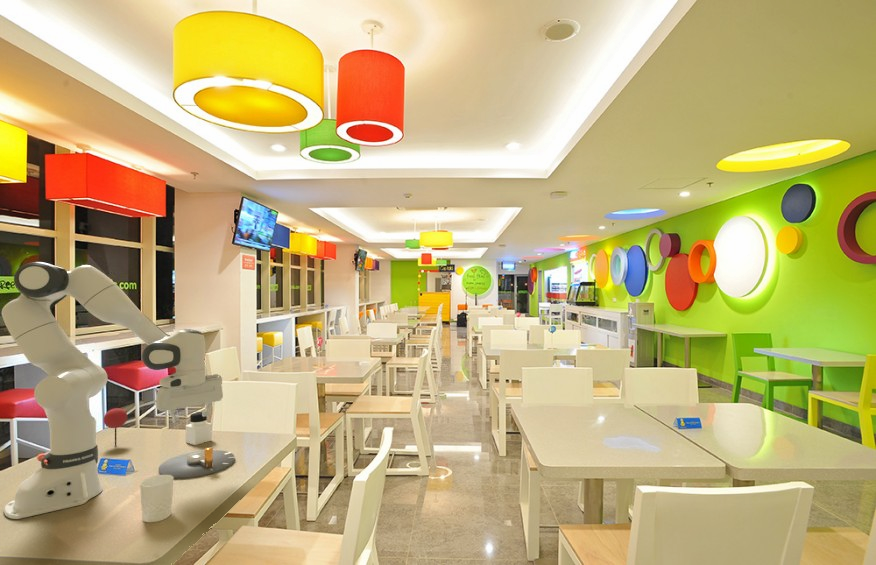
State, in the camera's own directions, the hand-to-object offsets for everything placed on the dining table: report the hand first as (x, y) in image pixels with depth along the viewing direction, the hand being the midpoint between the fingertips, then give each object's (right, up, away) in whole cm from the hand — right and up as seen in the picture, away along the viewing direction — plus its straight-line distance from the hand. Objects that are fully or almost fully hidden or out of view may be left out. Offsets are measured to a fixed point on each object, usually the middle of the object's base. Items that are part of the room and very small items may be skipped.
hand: (190, 419), depth 156 cm
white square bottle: (-16, -20, +36) cm, 44 cm away
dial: (0, -18, +8) cm, 19 cm away
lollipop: (-47, -20, +31) cm, 60 cm away
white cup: (+5, -19, -28) cm, 34 cm away
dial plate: (-3, -19, +10) cm, 22 cm away
